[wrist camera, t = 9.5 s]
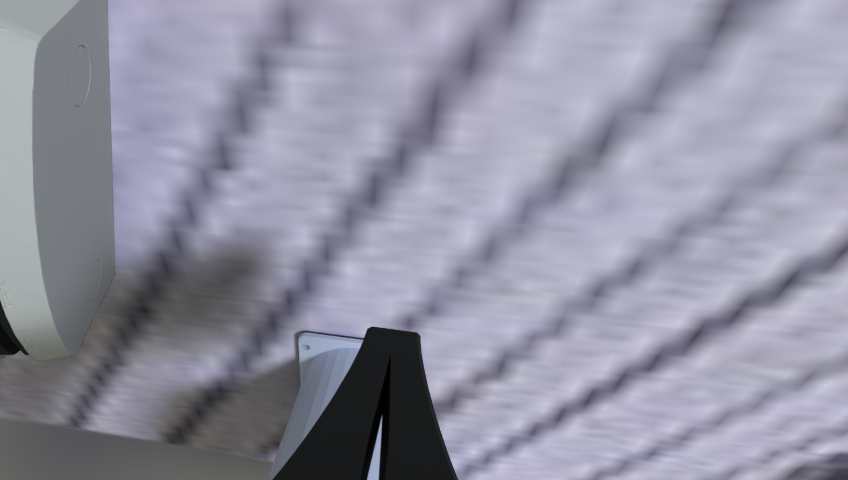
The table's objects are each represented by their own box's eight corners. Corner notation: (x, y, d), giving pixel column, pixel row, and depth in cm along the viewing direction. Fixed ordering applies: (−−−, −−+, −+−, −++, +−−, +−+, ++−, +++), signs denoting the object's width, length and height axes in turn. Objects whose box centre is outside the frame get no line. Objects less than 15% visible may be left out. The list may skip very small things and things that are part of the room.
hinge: (-45, -101, 14) (-379, -91, 7) (119, -40, 16) (-6, 16, 9) (22, 248, 23) (-94, 414, 16) (123, 258, 25) (61, 407, 18)
